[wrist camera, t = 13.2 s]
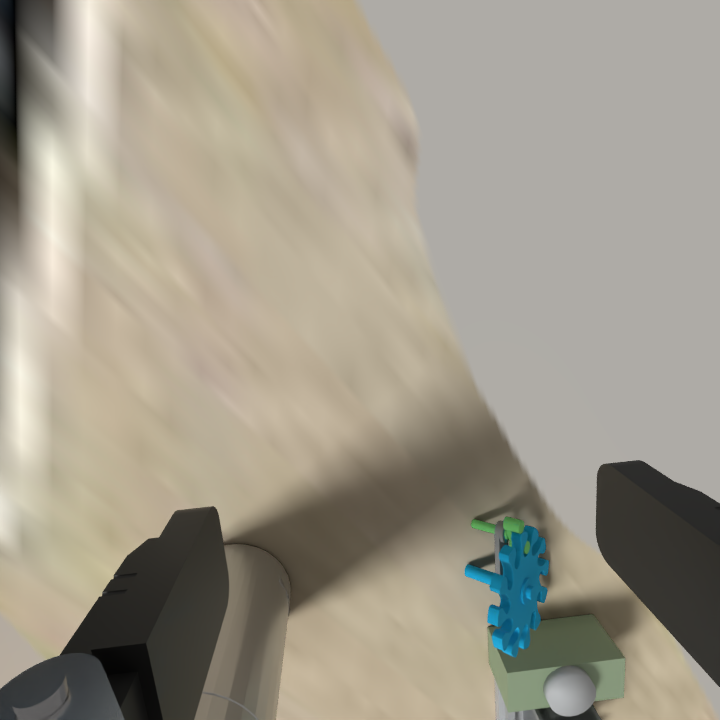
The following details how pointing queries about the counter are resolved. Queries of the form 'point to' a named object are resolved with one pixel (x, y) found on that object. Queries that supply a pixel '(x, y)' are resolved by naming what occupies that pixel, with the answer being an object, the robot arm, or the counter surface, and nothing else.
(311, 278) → the counter surface
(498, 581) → the gear
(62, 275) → the counter surface
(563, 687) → the drawer with ball knob
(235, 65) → the counter surface
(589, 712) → the grey lidded bin
